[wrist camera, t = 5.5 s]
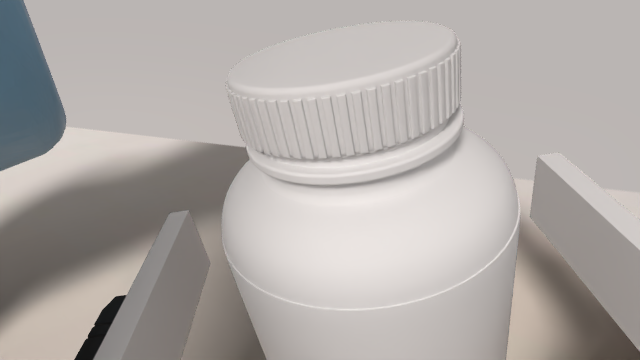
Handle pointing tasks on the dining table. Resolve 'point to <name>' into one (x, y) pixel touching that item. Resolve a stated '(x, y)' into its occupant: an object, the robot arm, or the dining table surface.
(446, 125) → the pill bottle
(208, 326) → the dining table surface
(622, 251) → the robot arm
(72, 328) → the dining table surface
